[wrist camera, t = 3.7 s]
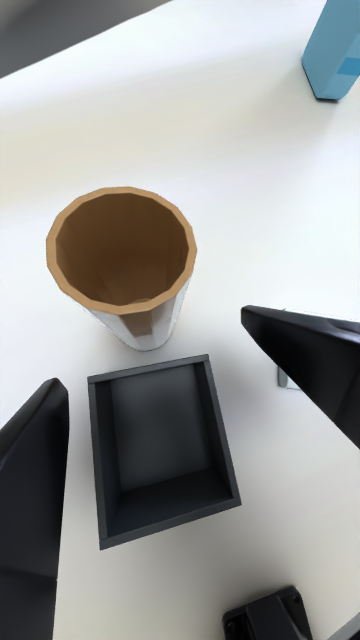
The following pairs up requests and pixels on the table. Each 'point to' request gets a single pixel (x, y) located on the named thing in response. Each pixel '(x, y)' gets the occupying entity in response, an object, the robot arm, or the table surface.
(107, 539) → the bin
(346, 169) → the table surface
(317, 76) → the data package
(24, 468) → the robot arm
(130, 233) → the cup
